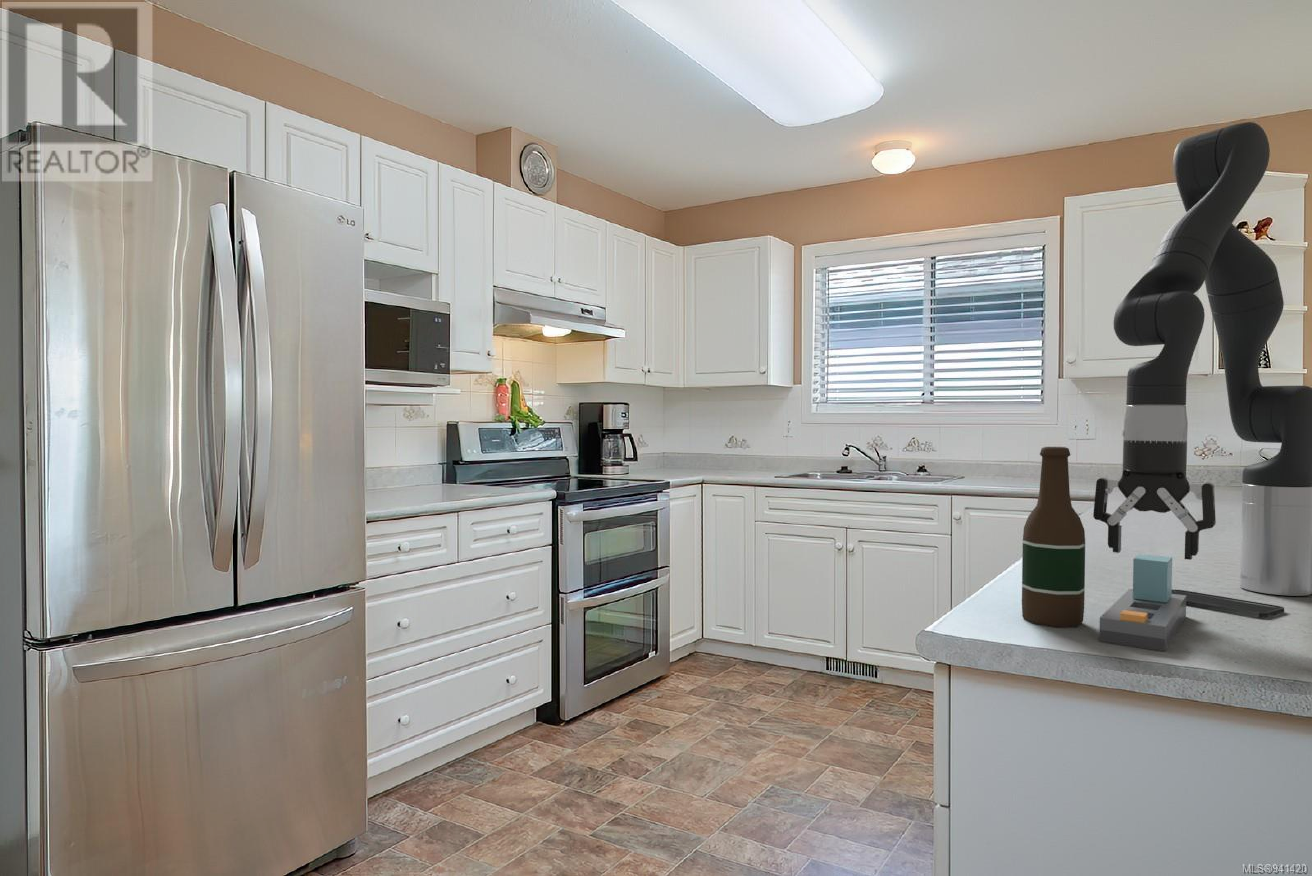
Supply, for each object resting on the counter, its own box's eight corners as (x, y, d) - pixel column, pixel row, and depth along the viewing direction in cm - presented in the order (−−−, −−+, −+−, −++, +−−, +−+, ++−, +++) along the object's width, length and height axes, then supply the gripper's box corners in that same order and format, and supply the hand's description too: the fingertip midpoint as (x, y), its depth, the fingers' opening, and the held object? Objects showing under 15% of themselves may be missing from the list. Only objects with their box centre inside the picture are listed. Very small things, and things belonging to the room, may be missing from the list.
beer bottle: (1079, 616, 114) (1082, 446, 113) (1089, 630, 106) (1092, 448, 106) (1018, 612, 116) (1021, 445, 115) (1024, 625, 109) (1027, 447, 108)
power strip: (1129, 609, 118) (1129, 583, 118) (1185, 616, 114) (1186, 589, 114) (1099, 641, 101) (1099, 611, 101) (1164, 651, 97) (1165, 620, 97)
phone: (1174, 588, 129) (1287, 607, 117) (1174, 595, 129) (1286, 614, 117) (1149, 594, 125) (1263, 613, 112) (1149, 601, 125) (1263, 622, 112)
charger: (1138, 603, 115) (1139, 554, 115) (1171, 607, 113) (1172, 557, 113) (1132, 609, 111) (1133, 558, 111) (1166, 614, 109) (1167, 562, 109)
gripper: (1219, 439, 110) (1216, 558, 110) (1102, 437, 119) (1099, 547, 119) (1214, 440, 104) (1211, 565, 104) (1091, 437, 113) (1088, 552, 113)
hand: (1151, 555), depth 112 cm, fingers open, 8 cm apart
